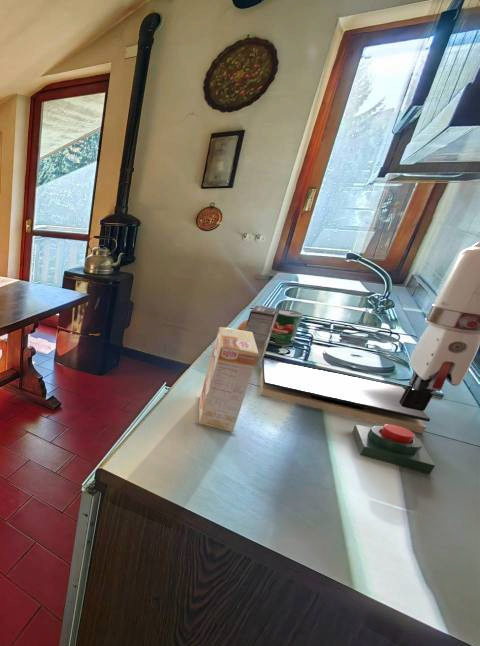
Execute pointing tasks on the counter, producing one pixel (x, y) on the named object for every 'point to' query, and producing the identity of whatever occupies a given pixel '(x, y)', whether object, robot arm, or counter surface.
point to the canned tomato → (285, 327)
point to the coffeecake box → (227, 378)
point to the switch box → (392, 449)
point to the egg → (242, 325)
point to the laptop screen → (339, 388)
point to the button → (397, 433)
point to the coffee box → (261, 327)
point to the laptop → (341, 407)
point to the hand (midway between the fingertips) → (411, 407)
